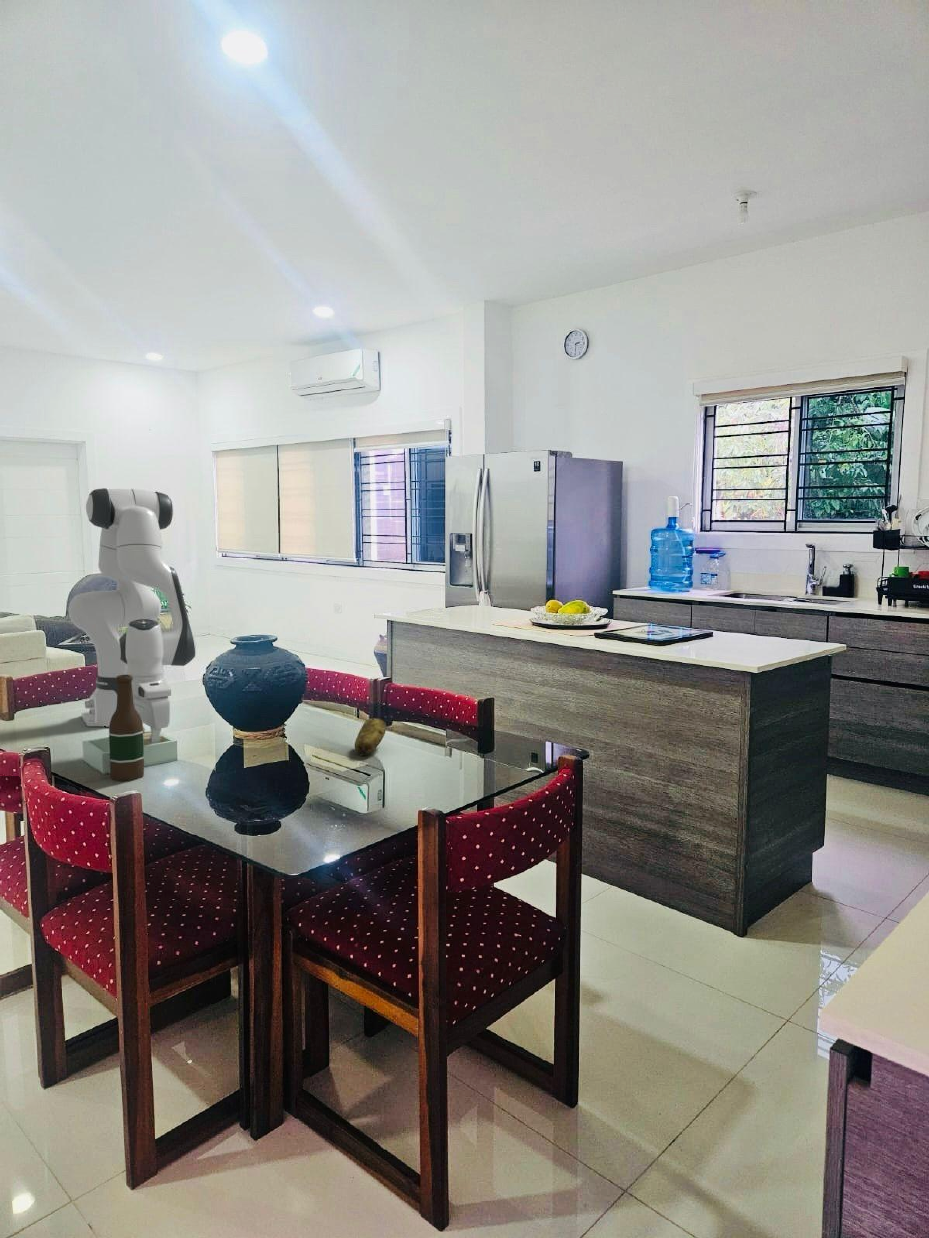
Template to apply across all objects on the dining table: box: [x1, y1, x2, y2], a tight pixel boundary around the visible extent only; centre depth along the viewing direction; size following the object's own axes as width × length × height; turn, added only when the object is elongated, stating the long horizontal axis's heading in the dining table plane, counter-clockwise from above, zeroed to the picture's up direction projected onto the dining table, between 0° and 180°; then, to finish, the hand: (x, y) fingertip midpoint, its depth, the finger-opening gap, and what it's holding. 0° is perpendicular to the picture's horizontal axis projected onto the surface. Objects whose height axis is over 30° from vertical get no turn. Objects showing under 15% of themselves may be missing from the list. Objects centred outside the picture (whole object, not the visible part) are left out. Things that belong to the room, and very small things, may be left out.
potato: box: [354, 717, 387, 756], centre depth 214 cm, size 8×13×8 cm, turn 150°
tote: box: [82, 729, 178, 775], centre depth 202 cm, size 14×18×5 cm
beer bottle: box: [108, 675, 145, 782], centre depth 189 cm, size 8×8×24 cm
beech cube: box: [143, 733, 162, 746], centre depth 205 cm, size 5×5×5 cm
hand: (147, 738), depth 205 cm, fingers open, 8 cm apart
